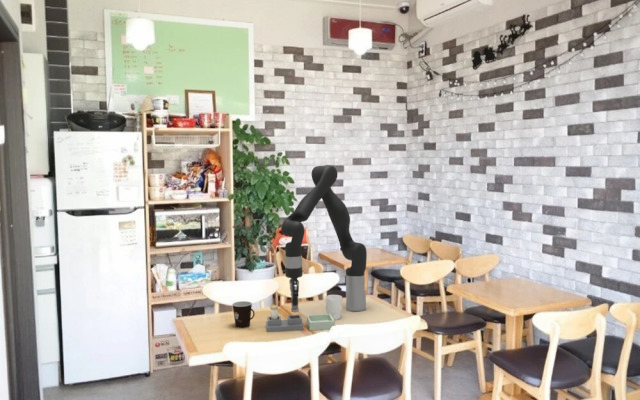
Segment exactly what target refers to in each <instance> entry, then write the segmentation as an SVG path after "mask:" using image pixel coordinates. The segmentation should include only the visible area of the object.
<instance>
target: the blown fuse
mask: <svg viewBox="0 0 640 400" xmlns="http://www.w3.org/2000/svg"><path fill="white" fill-rule="evenodd" d="M294 294H297V293H294ZM290 297H291V298H290V299H291V300H290V303H291V308H290V311H291V312H292V313H298V312H299V311H300V309H299V304H298V305H297V306H293V299H292V293H291V292H290Z"/></svg>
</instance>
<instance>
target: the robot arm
mask: <svg viewBox="0 0 640 400" xmlns="http://www.w3.org/2000/svg"><path fill="white" fill-rule="evenodd" d="M311 178H312V179H311V180H312V182H313V184H314V187H313V188H312V189H311V190H310V191H309V192H308V193H307V194H306V195H304V196H303V198H301V200H300V201H299V202H298V205H297V206H296V207H295V209H294V211H292V213H290V214H289V215H288V217H286V219H284V221H283V222H282V225H281V227H280V228H281V229H280V231H281V234H282V235H283V236H285V237H290V238H291V241H289V242H287V243H285V245H284V246H285V247H284V249H285V250H284V252H285V253H284V254H285V259H284V265H285V267H284V268H285V269H284V271H285V278H288V279H289V282H288V283H289V290H290V294H291V293H292V299H293V306H297V305H298V306H299V291H300V289H299V287H300V286H299V285H300V281H299V279H298V278H302V277H303V258H302V244H303V241H304V237H305V226H304V224H303V223H304V222H306V221H308V220H309V218H310V217H311V215H312V213H313V211H314V210H315V208H316V207H317V205H318V203H319V202H320V201H321V199H322V202H323V205H324V206H325V209H326V212H327V214H328V217H329V219H330V221H331V224H332V226H333V229H334V231H335V234H336V236H337V240H338V243H339V246H340V250H341V253H342V256H343V257H344V258H345V259H346V260H348V261H351V265H350V266H349V267H347V268H346V269H345V305H346V306H345V309H346V310H347V311H349V312H362V311H365V310H367V296H366V294H367V292H366V289H365V287H366V284H365V283H366V280H365V278H366V277H365V274H366V273H365V272H366V269H367V255H368V254H367V253H368V251H367V248H366V246H365V244H364V243H362V242H361V243H360V242H357V241H354V240H353V237H352V235H351V232H350V224H351V216H350V212H349V211H348V208H347V206H346V204H345V203H344V202H343V200H342V199H341V198H339V196H338V195H337V194H336V193H335V192H334V190H333V188H332V187H333V185H334V184H335V183H336V182H337V179H338V170H337V168H336V167H335V166H334V165H331V164H326V165H316V166H315V167H313V168H312V170H311ZM294 293H297V294H294Z"/></svg>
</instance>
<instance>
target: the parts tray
mask: <svg viewBox="0 0 640 400" xmlns="http://www.w3.org/2000/svg"><path fill="white" fill-rule="evenodd" d="M335 323H336V320H334V319H333V317H332V316H331V314H327V313H320V314H307V315H306V325H307V327H308V329H309V331H324V330H325V331H326V330H327V331H328V330H331V329H330V328H331V327H332V326H334V325H335ZM335 326H336V325H335ZM321 329H322V330H321Z"/></svg>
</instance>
